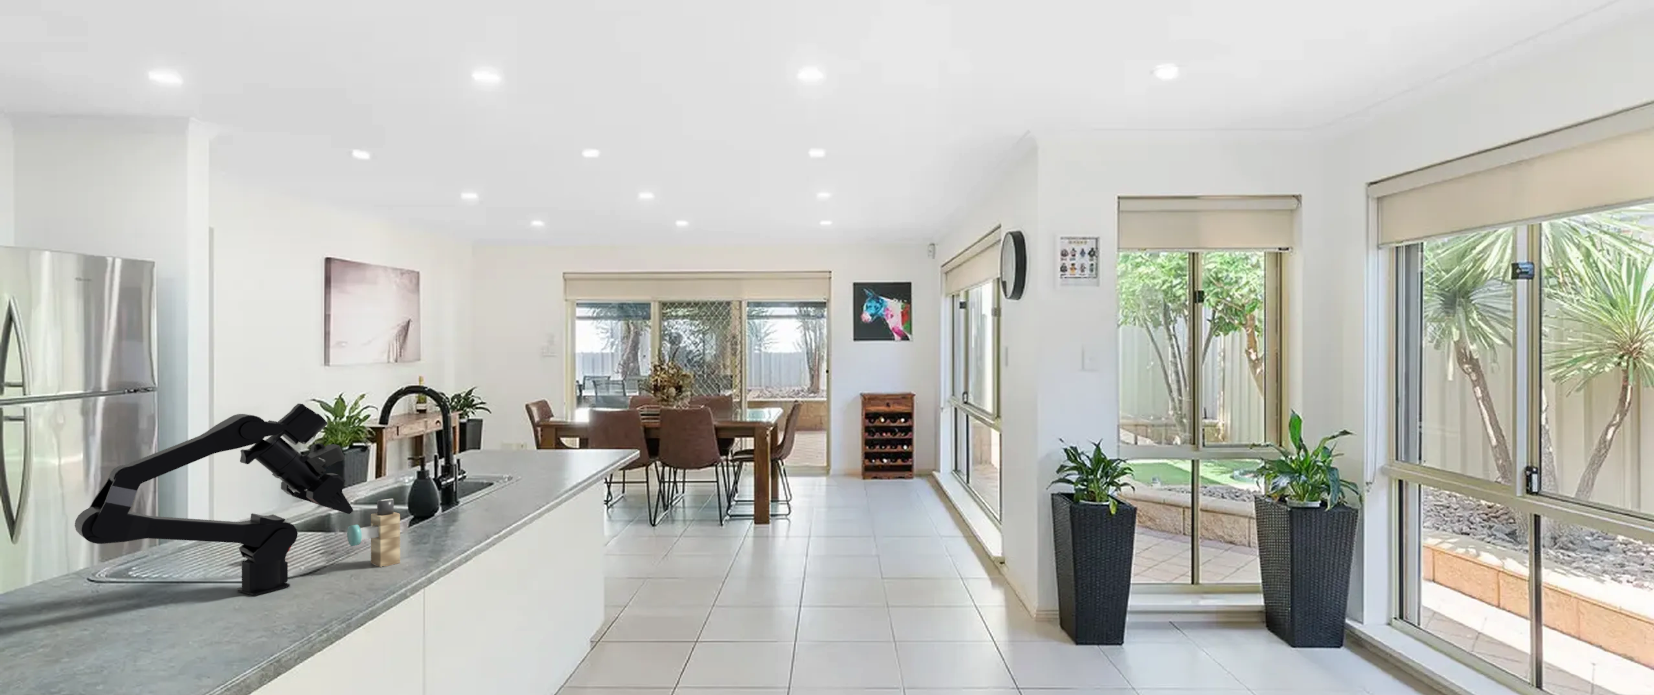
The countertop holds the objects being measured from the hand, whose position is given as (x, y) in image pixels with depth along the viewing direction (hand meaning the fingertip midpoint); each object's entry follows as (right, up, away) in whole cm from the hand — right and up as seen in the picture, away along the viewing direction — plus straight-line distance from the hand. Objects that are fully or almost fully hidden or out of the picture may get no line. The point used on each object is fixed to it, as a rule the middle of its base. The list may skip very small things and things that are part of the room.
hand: (342, 509), depth 159 cm
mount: (+5, -14, +7) cm, 16 cm away
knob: (+3, -8, +4) cm, 9 cm away
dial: (+5, -2, +7) cm, 9 cm away
